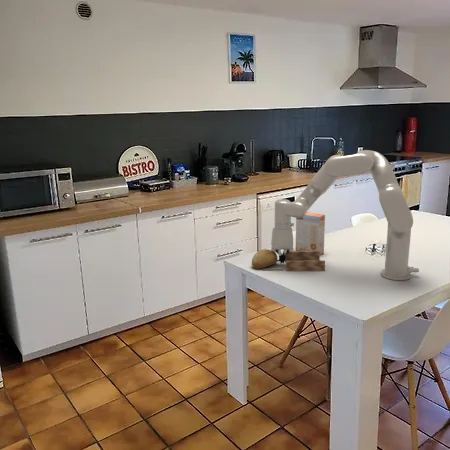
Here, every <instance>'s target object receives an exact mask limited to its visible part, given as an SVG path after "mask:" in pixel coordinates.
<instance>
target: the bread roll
mask: <svg viewBox="0 0 450 450" xmlns="http://www.w3.org/2000/svg"><path fill="white" fill-rule="evenodd" d="M277 260H279V257H278V255H277V253H276V252H273V251H271V249H266V248H264V249H260V250H257V251H256V252H255V253H254V255H253V257H252V258H251V266H252V267H253V269H256V270H260V269H265V268H266V267H269V266H271V265H275V264H276V263H277V262H278V261H277Z"/></svg>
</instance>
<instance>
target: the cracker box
mask: <svg viewBox="0 0 450 450" xmlns="http://www.w3.org/2000/svg"><path fill="white" fill-rule="evenodd" d="M325 224H326V215H325V214H320V213H316V212H308V211H307V212H306V214H305V215H304V216H303V217H301V218H295V251H320V256H321V255H323V254H324V252H325V231H326V229H325V227H326V225H325Z"/></svg>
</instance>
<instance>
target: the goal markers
mask: <svg viewBox="0 0 450 450" xmlns="http://www.w3.org/2000/svg"><path fill="white" fill-rule="evenodd" d="M277 262H280V261H279V259H277ZM261 270H262V271H263V272H265V271H268V272H269V271H271V272H272V271H284V270H285V269H284V268H261Z"/></svg>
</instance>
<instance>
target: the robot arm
mask: <svg viewBox="0 0 450 450" xmlns="http://www.w3.org/2000/svg"><path fill="white" fill-rule="evenodd" d="M366 173H370V174H371V176H372V178H373V181H374V183H375V185H376V188H377V192H378V200H379V204H380V206H381V208H382V211H383V214H384V216H385V218H386V221H387V232H386V233H387V234H386V247H385V257H384V258H385V260H384V268H383V269H381V271H380V275H381V276H382V277H383V278H385V279H388V280H391V281H393V280H394V281H407V280H409V279H411V277H412V276H411V274H412V273H419V272H420V268H418V267H414V266H409V257H410V247H411V234H412V227H413V226H414V218H413V214H412V211H411V209H410V208H409V206H408V203H407V201H406V198H405V195H404V193H403V192H404V191H403V190H402V188H401V187H400V184H399V182H398V179H397V177H396V174H395V173H394V170H393V167H392V166H391V164H390V162H389V161H388V159H387V158H386V157H385V156H384V155H383V154H381V153H380V152H378V151H374V150H369V149H364V150H363V149H362V150H360V151H358V152H357V153H354V154H350V155H342V156H341V155H339V154H334V155H332V156H330V157H329V158H328V159H327V160H326V161H325V163H324V164H323V165H322V166H321V167H320V168H319V169H318V171H317V172H316V173H315V174H314V175H313V177H312V178H311V179H310V180H309V183H308V184H307V186H306V187H305V188H304V189H303V191H302V192H301V193H300V195H299V196H298V197H297V198H296V199H295V200H294V201H290V200H289V199H285V198H283V199H281V198H280V199H277V200H275V202H274V227H272V231H271V248H270V250H271V251H273V252H275V253H276V254H278V260H279V261H278V262H279V263H280V264H285V262H286V261H285V256H286V254H287V253H288V252H291V251H295V250H294V235H293V234H294V233H293V228H292V227H294V226H295V224H294V223H293V222H292V221H291V220H292V219H291V218H295V219H296V218H301V217H303V216H304V215H305V214H306V212H308V211H309V210H310V208H311V207H312V206H313V205H314V204H315V202H316V201H317V200H318V199H319V198H320V197H321V196H322V195H324V194H325V193H326V192H328V191H329V189H330V188H331V186H332V185H333V184H334V183H335V182H336V180H337V179H339V177H348V176H355V175H363V174H366Z"/></svg>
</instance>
